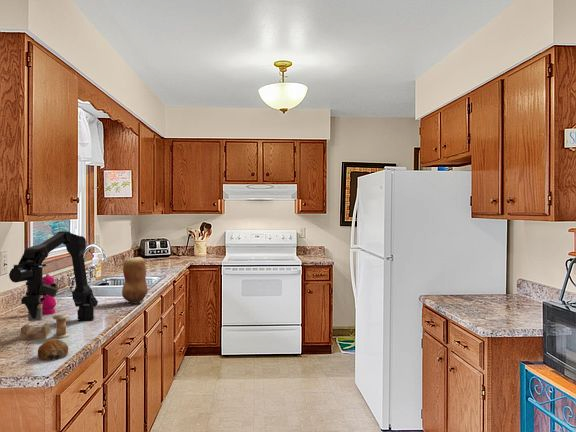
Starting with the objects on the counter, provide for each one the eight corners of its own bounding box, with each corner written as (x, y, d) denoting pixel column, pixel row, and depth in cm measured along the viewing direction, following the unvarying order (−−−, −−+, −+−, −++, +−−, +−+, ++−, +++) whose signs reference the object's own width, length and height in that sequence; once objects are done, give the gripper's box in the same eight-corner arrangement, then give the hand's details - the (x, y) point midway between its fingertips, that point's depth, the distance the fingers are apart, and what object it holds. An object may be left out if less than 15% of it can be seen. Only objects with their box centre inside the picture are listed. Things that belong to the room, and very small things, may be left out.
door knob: (70, 334, 211) (70, 313, 211) (67, 337, 205) (67, 317, 205) (54, 335, 210) (54, 314, 209) (51, 338, 204) (51, 317, 204)
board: (51, 331, 215) (50, 321, 215) (45, 338, 205) (45, 327, 205) (27, 332, 213) (27, 322, 213) (20, 339, 202) (20, 328, 202)
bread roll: (70, 363, 184) (74, 341, 187) (60, 359, 175) (64, 335, 178) (42, 364, 184) (46, 341, 187) (30, 359, 174) (35, 336, 178)
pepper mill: (51, 311, 256) (51, 271, 256) (58, 313, 252) (58, 272, 251) (37, 313, 251) (36, 272, 250) (44, 315, 246) (43, 274, 246)
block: (30, 319, 208) (30, 304, 208) (42, 318, 209) (42, 304, 209) (28, 321, 205) (28, 306, 204) (40, 320, 206) (40, 305, 206)
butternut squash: (118, 302, 279) (118, 256, 279) (142, 299, 287) (142, 255, 287) (127, 306, 268) (127, 259, 268) (152, 303, 276) (152, 257, 276)
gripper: (52, 281, 199) (52, 321, 200) (60, 275, 218) (60, 311, 218) (20, 282, 197) (21, 323, 197) (31, 275, 215) (32, 313, 215)
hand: (35, 317), depth 207 cm, fingers closed on block, 3 cm apart
